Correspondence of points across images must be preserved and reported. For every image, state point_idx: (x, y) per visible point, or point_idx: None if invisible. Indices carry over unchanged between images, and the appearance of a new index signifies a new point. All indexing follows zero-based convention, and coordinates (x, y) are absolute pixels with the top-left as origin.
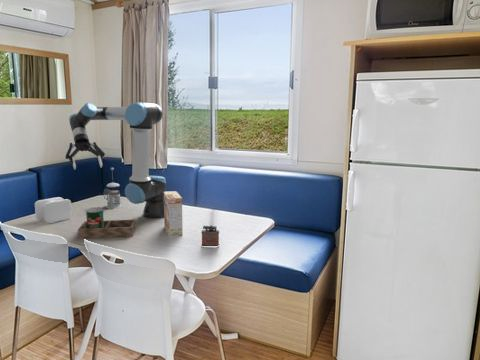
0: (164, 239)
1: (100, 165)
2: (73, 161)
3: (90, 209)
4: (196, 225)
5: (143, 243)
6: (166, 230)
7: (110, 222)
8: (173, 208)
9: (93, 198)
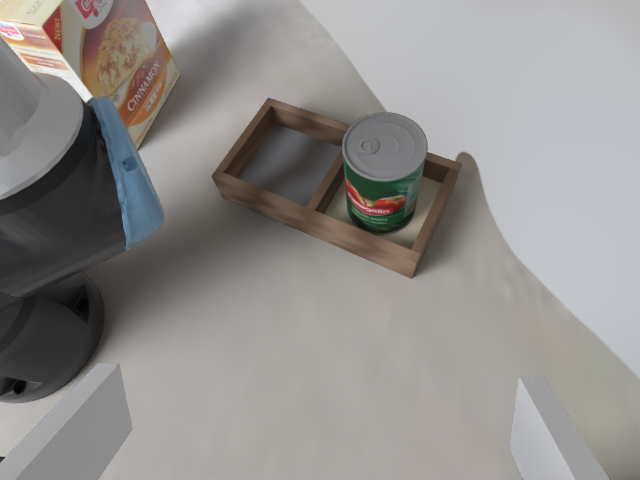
0: (206, 62)
1: (116, 419)
2: (599, 466)
3: (400, 166)
4: None
5: (274, 61)
6: (158, 107)
7: (312, 199)
8: None
9: None
